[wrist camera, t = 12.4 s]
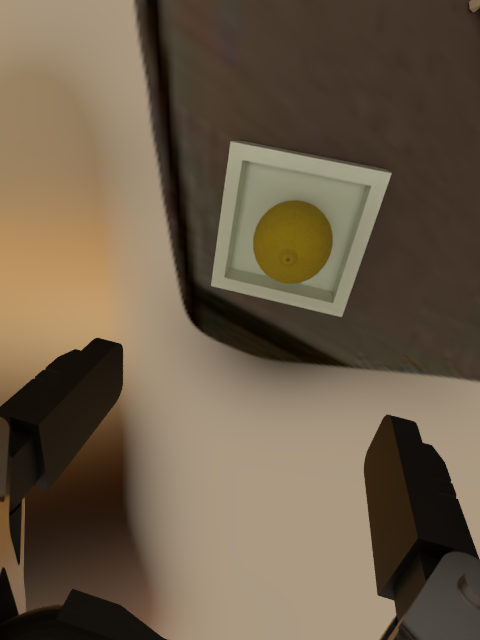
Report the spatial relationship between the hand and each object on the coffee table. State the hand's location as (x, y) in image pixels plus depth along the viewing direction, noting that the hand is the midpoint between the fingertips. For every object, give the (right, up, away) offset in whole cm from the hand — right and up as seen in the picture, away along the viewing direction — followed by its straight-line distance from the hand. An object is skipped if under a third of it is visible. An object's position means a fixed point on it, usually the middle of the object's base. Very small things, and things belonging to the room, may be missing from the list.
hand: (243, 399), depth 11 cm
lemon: (+4, +10, +18) cm, 21 cm away
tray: (+4, +10, +19) cm, 22 cm away
